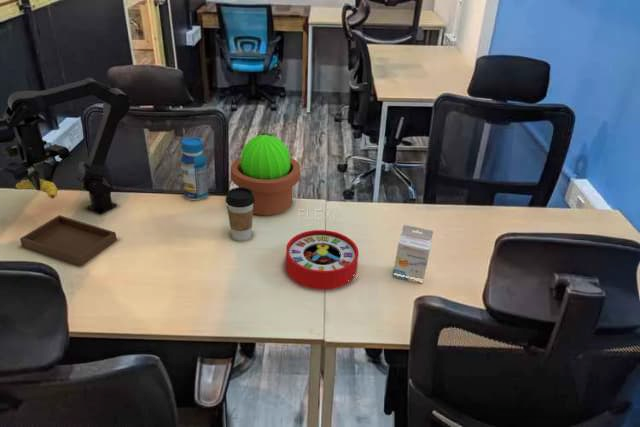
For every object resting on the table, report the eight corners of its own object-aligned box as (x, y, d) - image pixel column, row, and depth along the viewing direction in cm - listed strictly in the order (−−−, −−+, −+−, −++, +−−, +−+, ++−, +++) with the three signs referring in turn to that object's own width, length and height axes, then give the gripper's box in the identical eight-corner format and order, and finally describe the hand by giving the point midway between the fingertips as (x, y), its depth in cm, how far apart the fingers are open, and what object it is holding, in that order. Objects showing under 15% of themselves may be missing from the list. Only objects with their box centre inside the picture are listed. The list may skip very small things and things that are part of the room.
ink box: (392, 277, 140) (399, 233, 133) (395, 267, 145) (402, 223, 137) (422, 284, 138) (431, 240, 131) (425, 274, 143) (434, 230, 135)
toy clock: (312, 222, 152) (371, 245, 143) (311, 238, 155) (369, 262, 146) (271, 254, 137) (334, 282, 128) (271, 271, 140) (332, 299, 131)
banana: (67, 194, 149) (65, 183, 148) (52, 202, 145) (49, 192, 143) (30, 182, 154) (27, 172, 152) (13, 189, 150) (10, 179, 148)
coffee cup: (222, 238, 152) (219, 195, 144) (236, 225, 159) (234, 182, 151) (246, 246, 150) (245, 202, 142) (260, 231, 156) (259, 189, 149)
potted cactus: (275, 227, 159) (276, 154, 146) (219, 207, 167) (215, 136, 154) (309, 198, 176) (313, 130, 163) (257, 181, 184) (256, 116, 171)
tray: (117, 240, 149) (115, 232, 147) (80, 266, 137) (78, 258, 136) (61, 222, 155) (59, 214, 153) (22, 246, 144) (19, 238, 142)
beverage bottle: (210, 200, 171) (206, 145, 161) (184, 202, 169) (178, 146, 159) (208, 188, 178) (204, 134, 168) (183, 189, 176) (178, 136, 166)
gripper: (37, 122, 152) (49, 169, 160) (-21, 144, 137) (-5, 194, 145) (65, 129, 148) (76, 177, 156) (8, 153, 133) (23, 204, 141)
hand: (43, 187), depth 150 cm, fingers closed on banana, 3 cm apart
